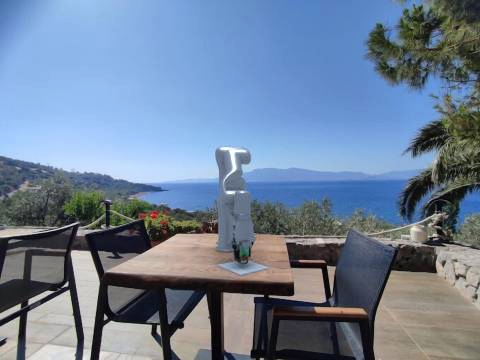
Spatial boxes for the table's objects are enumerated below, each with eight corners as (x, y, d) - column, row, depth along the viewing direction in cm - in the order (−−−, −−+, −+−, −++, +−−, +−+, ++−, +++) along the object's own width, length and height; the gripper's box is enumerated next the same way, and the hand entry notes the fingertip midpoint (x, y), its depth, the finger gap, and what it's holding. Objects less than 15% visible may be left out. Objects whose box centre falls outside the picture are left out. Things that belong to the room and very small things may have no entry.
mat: (216, 266, 130) (217, 264, 130) (243, 260, 139) (243, 259, 139) (241, 276, 115) (241, 274, 115) (269, 268, 125) (269, 267, 125)
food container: (255, 264, 123) (255, 241, 124) (242, 265, 121) (242, 242, 121) (245, 257, 135) (244, 236, 135) (232, 258, 133) (232, 237, 133)
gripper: (232, 220, 120) (232, 262, 119) (261, 217, 130) (262, 256, 130) (222, 218, 126) (222, 259, 125) (251, 216, 136) (251, 253, 136)
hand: (242, 257), depth 127 cm, fingers closed on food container, 5 cm apart
